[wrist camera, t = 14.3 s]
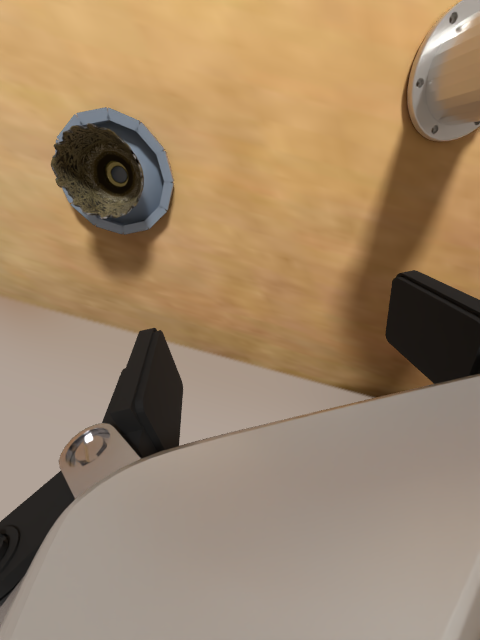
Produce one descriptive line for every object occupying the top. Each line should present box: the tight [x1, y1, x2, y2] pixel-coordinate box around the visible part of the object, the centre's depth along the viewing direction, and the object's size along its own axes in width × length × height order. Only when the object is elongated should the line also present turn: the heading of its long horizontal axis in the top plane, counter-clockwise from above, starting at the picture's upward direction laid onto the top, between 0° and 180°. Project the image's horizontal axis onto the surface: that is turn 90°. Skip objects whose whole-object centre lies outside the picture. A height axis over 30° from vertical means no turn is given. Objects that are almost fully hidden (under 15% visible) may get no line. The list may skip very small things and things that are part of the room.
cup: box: [51, 123, 144, 219], centre depth 27 cm, size 8×7×8 cm
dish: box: [55, 107, 174, 235], centre depth 30 cm, size 12×12×2 cm
